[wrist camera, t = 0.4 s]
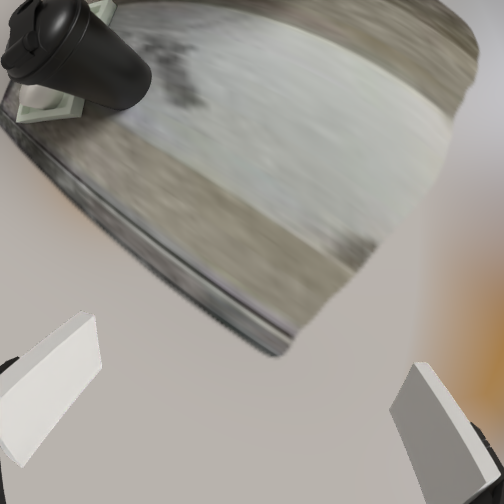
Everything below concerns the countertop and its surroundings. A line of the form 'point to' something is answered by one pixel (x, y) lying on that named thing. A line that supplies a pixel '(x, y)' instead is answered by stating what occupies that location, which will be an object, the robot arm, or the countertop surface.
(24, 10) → the water bottle
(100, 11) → the tray
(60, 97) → the white domed cylinder
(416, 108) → the countertop surface
